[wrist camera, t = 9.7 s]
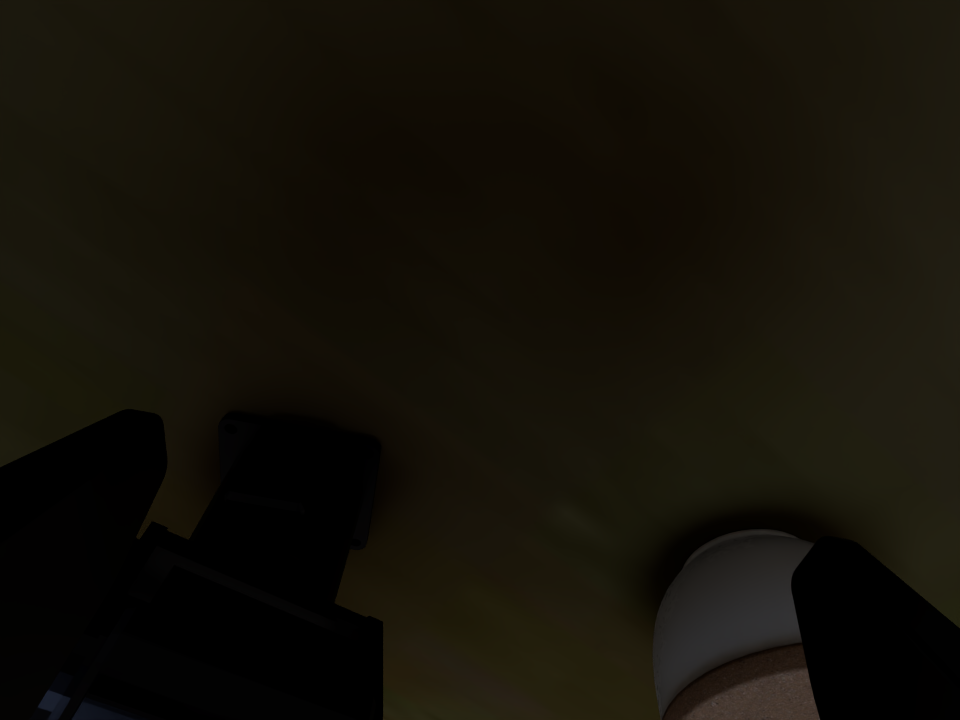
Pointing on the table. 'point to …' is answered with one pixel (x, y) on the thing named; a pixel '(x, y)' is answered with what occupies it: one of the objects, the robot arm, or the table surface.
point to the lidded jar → (734, 633)
